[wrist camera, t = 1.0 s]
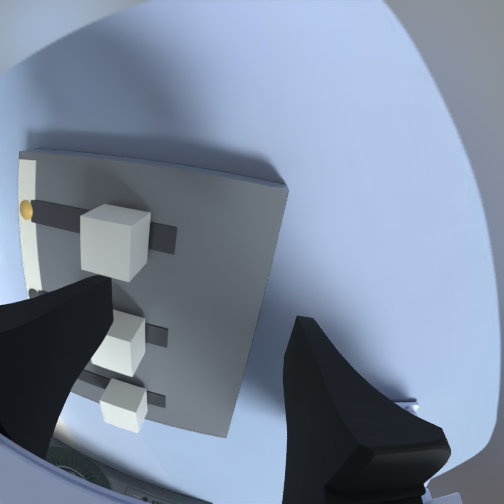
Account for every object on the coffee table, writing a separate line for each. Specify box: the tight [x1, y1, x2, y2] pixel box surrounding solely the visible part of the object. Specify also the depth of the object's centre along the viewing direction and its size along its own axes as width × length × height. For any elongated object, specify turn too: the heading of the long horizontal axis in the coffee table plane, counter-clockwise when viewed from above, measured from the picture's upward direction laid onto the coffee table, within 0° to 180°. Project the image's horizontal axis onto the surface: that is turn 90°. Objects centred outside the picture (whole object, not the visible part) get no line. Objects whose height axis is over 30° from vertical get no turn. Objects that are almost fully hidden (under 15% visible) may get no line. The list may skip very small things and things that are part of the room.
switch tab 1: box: [80, 204, 151, 282], centre depth 15 cm, size 3×3×3 cm
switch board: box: [18, 149, 289, 438], centre depth 20 cm, size 18×22×2 cm
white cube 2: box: [91, 309, 145, 377], centre depth 18 cm, size 3×3×3 cm
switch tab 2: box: [99, 378, 148, 434], centre depth 20 cm, size 3×3×3 cm
